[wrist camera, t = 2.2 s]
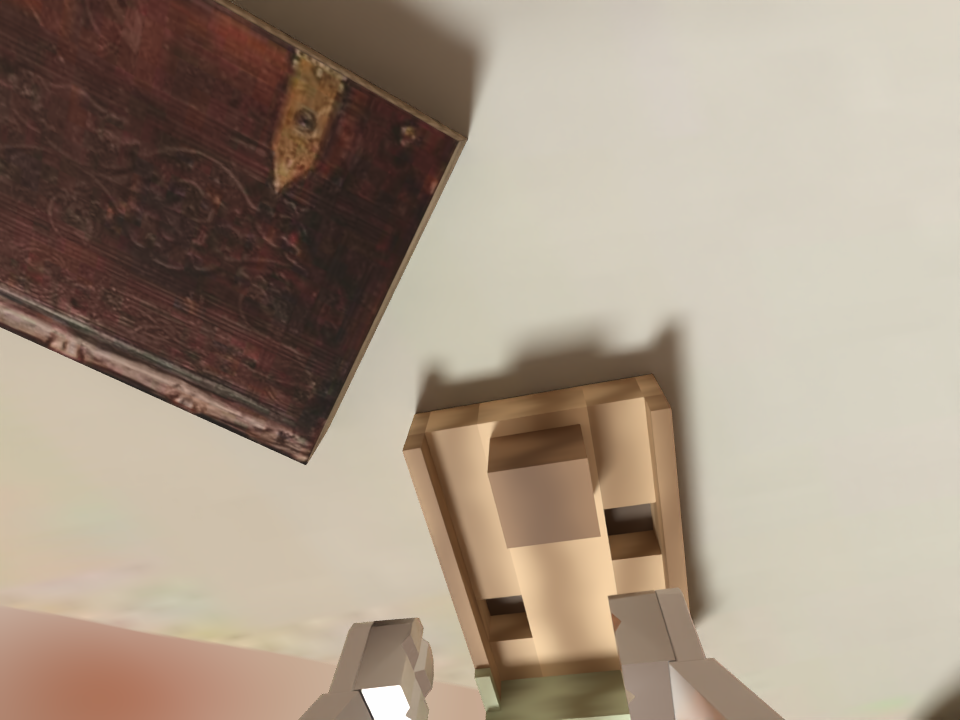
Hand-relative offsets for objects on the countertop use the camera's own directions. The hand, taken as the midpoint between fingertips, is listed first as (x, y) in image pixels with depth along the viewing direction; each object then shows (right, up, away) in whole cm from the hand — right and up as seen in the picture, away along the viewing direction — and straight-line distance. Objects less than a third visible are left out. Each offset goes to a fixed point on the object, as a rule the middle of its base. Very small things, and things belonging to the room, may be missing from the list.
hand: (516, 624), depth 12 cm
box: (+5, -6, +23) cm, 25 cm away
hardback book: (-18, +16, +16) cm, 29 cm away
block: (+3, 0, +18) cm, 19 cm away
